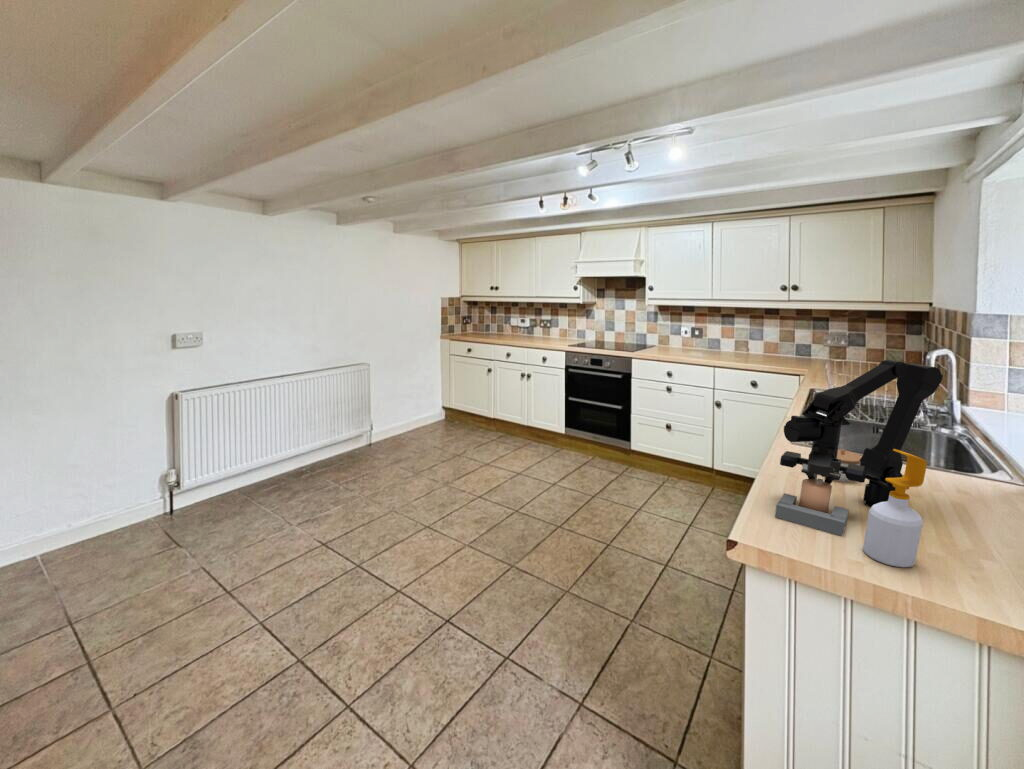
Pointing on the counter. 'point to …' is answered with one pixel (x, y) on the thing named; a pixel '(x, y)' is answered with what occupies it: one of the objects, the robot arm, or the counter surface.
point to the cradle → (811, 516)
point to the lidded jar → (847, 461)
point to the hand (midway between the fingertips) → (817, 495)
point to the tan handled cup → (815, 495)
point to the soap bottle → (896, 520)
